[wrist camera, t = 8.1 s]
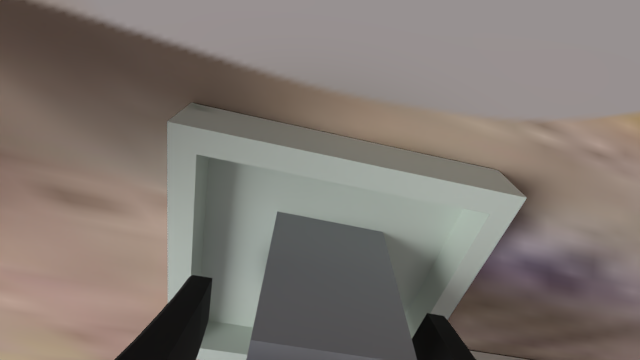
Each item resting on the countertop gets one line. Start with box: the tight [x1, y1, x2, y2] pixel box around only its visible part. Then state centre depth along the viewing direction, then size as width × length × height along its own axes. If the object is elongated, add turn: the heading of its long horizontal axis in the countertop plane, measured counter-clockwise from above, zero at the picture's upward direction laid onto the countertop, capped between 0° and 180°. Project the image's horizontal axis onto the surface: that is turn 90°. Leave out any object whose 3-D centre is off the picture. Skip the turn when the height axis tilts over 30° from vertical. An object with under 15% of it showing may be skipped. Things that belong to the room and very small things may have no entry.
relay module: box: [246, 211, 417, 360], centre depth 10 cm, size 4×4×5 cm
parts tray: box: [167, 103, 527, 360], centre depth 12 cm, size 11×11×2 cm
